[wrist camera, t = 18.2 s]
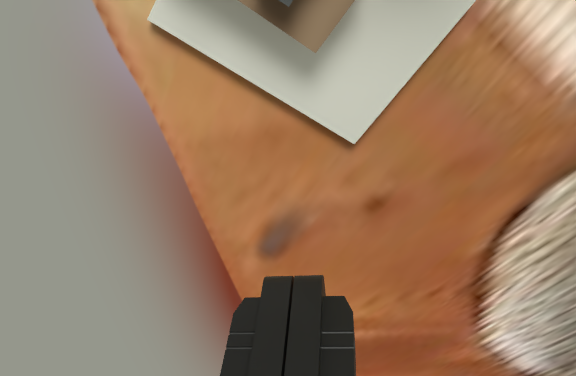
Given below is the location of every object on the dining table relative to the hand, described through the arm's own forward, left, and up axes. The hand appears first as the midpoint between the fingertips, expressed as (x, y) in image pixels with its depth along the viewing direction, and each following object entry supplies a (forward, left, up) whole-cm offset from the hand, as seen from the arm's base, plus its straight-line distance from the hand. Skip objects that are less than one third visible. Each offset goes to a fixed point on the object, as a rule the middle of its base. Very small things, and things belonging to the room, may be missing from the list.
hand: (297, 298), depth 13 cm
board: (0, +2, -32) cm, 32 cm away
